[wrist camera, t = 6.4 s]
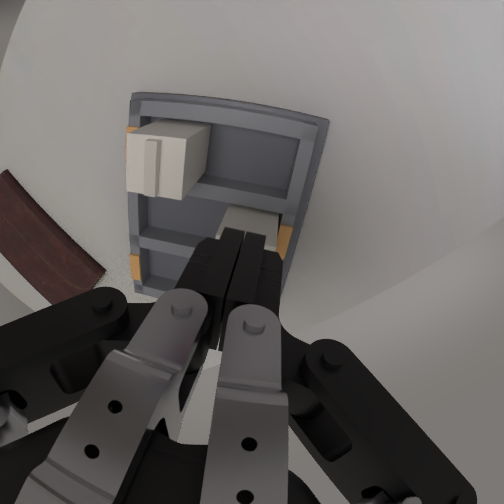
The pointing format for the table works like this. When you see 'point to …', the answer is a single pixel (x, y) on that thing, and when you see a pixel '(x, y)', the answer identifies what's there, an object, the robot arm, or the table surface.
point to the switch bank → (223, 181)
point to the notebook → (42, 246)
